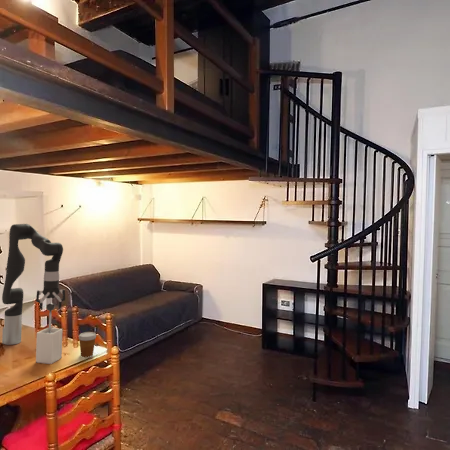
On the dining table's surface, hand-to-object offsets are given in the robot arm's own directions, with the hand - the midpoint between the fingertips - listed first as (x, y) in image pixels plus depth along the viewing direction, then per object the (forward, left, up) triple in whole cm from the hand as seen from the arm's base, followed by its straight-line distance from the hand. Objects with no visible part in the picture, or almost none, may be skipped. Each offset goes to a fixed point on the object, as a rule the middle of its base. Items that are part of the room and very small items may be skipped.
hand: (50, 309), depth 193 cm
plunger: (0, 0, -14) cm, 14 cm away
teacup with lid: (-13, +20, -28) cm, 37 cm away
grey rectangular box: (0, +2, -28) cm, 28 cm away
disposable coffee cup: (+16, +11, -28) cm, 34 cm away
